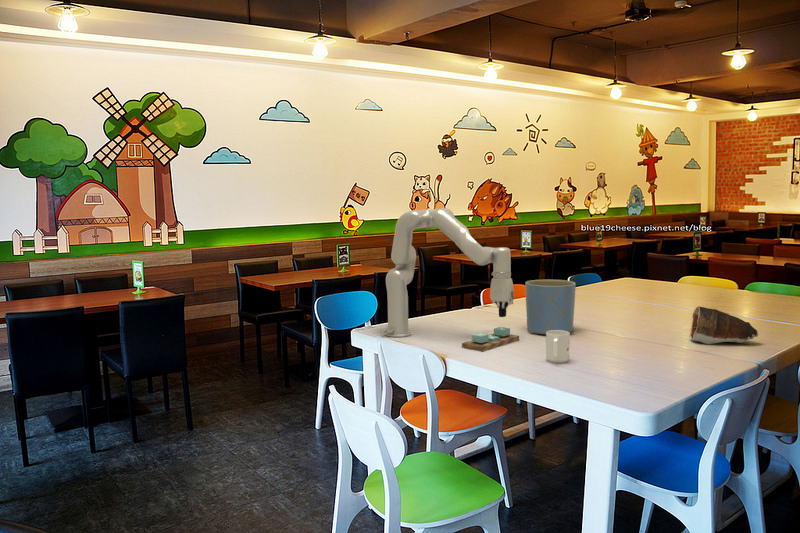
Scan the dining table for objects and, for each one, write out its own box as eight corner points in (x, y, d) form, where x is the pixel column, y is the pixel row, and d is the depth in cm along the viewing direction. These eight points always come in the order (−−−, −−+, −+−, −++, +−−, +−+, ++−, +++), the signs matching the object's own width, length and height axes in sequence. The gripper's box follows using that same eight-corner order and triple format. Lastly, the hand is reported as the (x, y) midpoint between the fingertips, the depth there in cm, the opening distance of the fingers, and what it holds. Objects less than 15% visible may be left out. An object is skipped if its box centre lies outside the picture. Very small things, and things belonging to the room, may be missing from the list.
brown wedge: (767, 320, 245) (700, 306, 252) (758, 356, 246) (692, 341, 253) (756, 317, 259) (694, 304, 267) (748, 352, 260) (686, 338, 267)
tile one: (481, 343, 253) (481, 336, 253) (471, 341, 256) (471, 334, 256) (488, 340, 256) (488, 334, 256) (478, 339, 260) (478, 332, 260)
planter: (534, 325, 299) (534, 278, 297) (580, 329, 288) (581, 280, 285) (518, 334, 280) (518, 284, 277) (567, 339, 268) (567, 287, 266)
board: (482, 351, 249) (482, 347, 249) (461, 347, 257) (461, 343, 256) (519, 340, 268) (519, 335, 268) (498, 336, 276) (498, 332, 276)
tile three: (503, 336, 264) (503, 329, 264) (493, 334, 268) (493, 328, 267) (509, 334, 268) (509, 327, 267) (500, 332, 271) (500, 326, 271)
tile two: (492, 345, 259) (492, 338, 258) (483, 343, 262) (483, 336, 262) (499, 343, 262) (499, 336, 262) (489, 341, 266) (489, 334, 266)
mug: (547, 356, 240) (547, 329, 238) (570, 358, 236) (571, 330, 235) (542, 364, 229) (543, 335, 227) (566, 366, 225) (567, 337, 224)
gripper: (483, 275, 267) (483, 316, 269) (511, 277, 257) (512, 319, 259) (493, 273, 273) (493, 313, 275) (521, 275, 262) (521, 317, 264)
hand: (502, 316), depth 267 cm, fingers closed
